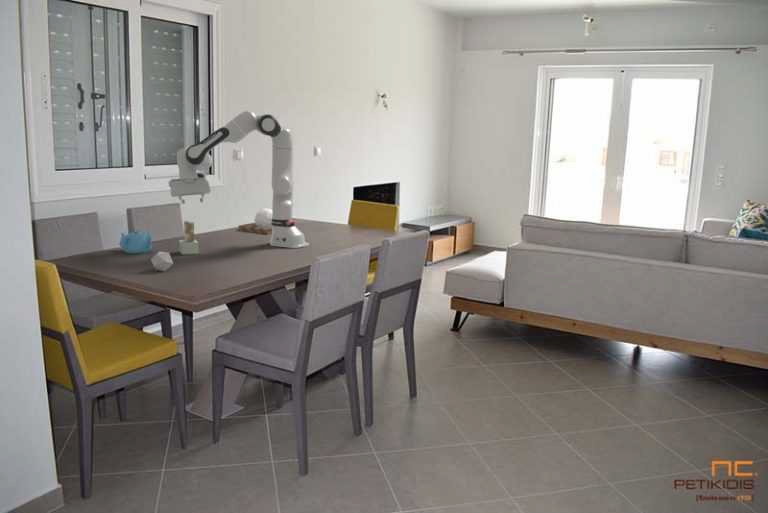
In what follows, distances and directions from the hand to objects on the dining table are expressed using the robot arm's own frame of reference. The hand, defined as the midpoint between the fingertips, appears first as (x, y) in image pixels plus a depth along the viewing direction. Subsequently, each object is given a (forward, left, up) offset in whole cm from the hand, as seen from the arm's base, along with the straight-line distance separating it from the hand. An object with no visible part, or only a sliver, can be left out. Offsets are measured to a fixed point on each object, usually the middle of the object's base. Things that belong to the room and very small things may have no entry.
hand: (192, 202), depth 341 cm
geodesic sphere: (+7, -68, -24) cm, 72 cm away
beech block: (-10, +12, -18) cm, 24 cm away
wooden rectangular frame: (+7, -68, -24) cm, 72 cm away
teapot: (+12, +26, -24) cm, 38 cm away
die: (-30, +47, -24) cm, 61 cm away
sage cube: (-10, +12, -24) cm, 29 cm away
